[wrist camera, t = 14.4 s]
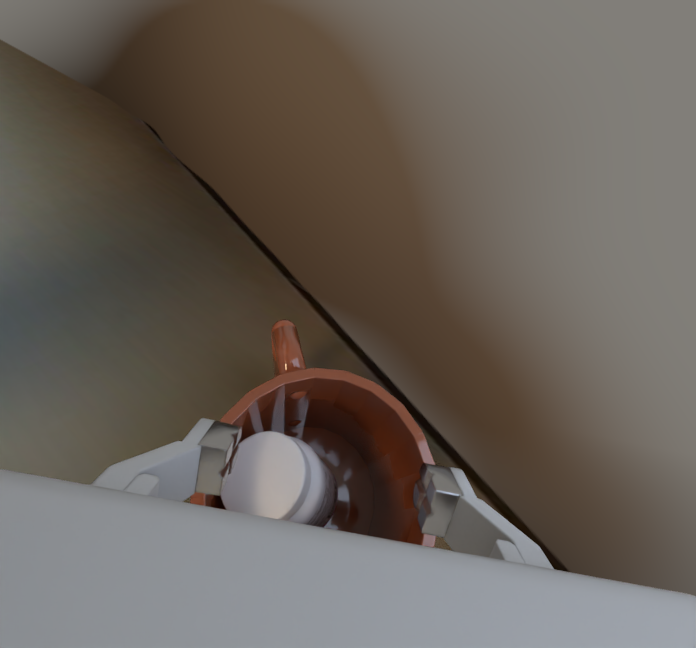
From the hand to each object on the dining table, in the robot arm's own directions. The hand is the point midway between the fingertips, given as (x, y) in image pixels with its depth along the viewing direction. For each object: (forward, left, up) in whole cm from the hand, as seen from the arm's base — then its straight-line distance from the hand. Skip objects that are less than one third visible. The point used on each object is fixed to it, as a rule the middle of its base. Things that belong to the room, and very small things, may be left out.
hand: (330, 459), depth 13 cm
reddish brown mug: (-1, +1, -13) cm, 13 cm away
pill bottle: (0, -1, -12) cm, 12 cm away
